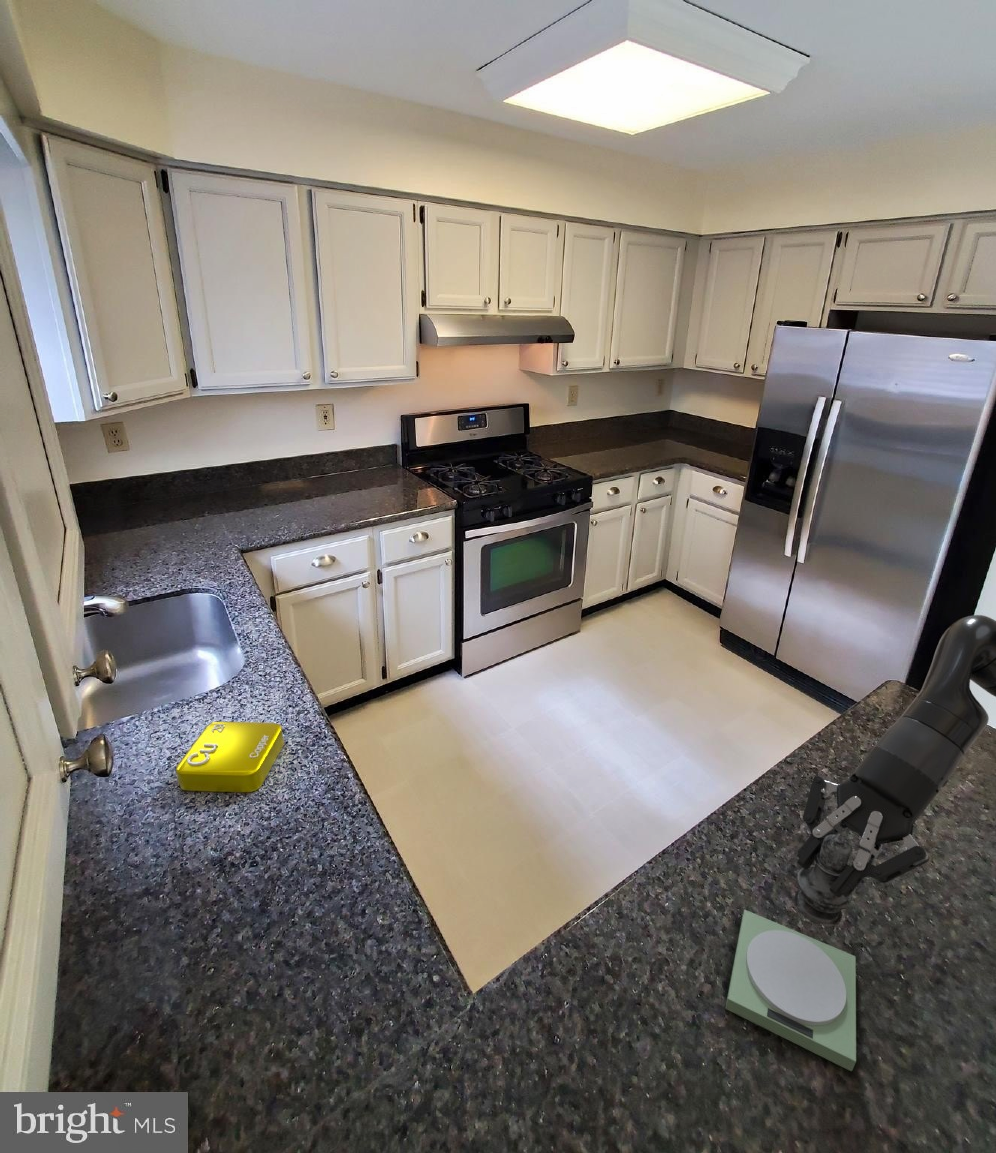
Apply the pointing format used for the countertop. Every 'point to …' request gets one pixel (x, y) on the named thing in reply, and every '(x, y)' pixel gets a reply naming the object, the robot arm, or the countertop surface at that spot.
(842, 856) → the chess piece
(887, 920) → the countertop surface
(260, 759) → the element tile
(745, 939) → the scale
